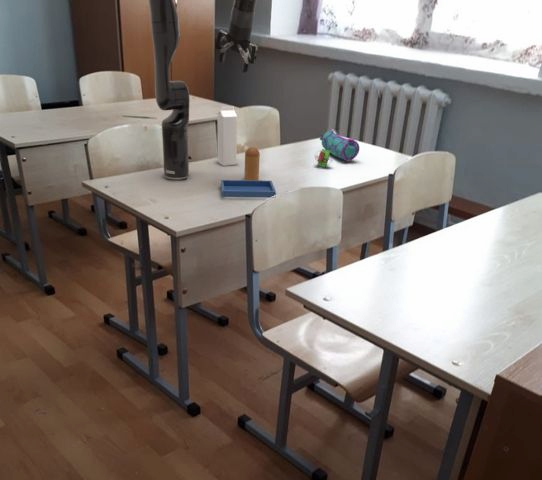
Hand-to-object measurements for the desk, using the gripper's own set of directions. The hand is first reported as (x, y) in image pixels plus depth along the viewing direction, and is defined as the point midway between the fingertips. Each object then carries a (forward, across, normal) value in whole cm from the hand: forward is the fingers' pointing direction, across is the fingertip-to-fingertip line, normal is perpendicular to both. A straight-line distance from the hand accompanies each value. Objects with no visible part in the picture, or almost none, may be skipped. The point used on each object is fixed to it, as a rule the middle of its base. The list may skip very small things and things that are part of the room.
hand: (233, 67), depth 206 cm
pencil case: (+42, -43, -38) cm, 71 cm away
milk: (+43, -3, -4) cm, 43 cm away
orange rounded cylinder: (+32, -19, +13) cm, 40 cm away
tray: (+27, -21, +25) cm, 43 cm away
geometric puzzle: (+37, -39, -20) cm, 58 cm away
